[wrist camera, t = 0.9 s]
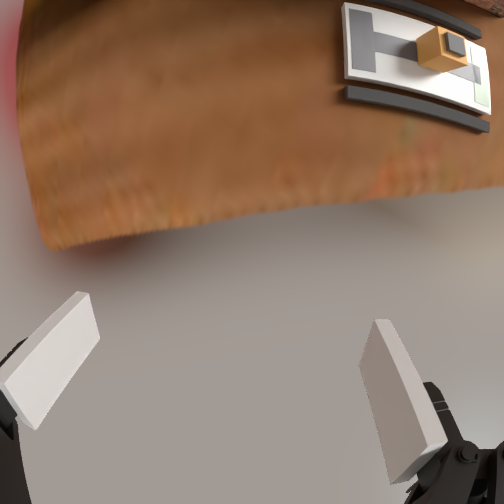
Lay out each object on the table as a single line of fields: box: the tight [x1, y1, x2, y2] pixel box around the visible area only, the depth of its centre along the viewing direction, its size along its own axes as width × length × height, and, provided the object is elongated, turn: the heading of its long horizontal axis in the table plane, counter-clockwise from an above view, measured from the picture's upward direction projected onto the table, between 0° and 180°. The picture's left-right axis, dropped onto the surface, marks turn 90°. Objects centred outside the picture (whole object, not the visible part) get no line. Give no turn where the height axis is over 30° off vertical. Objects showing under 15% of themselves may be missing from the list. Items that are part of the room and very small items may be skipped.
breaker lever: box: [416, 26, 468, 73], centre depth 21 cm, size 4×4×7 cm
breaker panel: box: [341, 2, 491, 115], centre depth 26 cm, size 11×23×2 cm, turn 89°
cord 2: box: [345, 85, 489, 133], centre depth 29 cm, size 2×23×2 cm, turn 89°
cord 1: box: [363, 0, 482, 40], centre depth 23 cm, size 2×23×2 cm, turn 89°
